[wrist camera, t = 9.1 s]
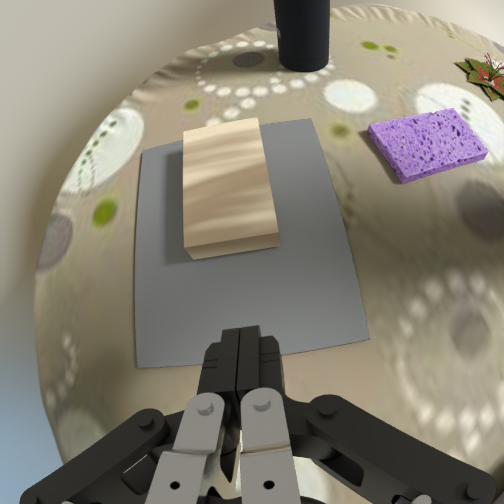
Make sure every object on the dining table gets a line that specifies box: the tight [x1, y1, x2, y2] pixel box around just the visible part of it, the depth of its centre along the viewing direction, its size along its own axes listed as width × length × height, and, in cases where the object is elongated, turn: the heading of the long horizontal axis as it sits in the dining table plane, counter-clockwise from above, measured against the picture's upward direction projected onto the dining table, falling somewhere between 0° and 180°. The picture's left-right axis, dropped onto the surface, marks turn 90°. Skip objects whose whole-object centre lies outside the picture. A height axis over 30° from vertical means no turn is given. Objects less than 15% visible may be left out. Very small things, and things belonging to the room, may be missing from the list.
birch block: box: [183, 117, 280, 260], centre depth 27 cm, size 3×7×12 cm
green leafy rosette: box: [455, 53, 504, 101], centre depth 30 cm, size 12×12×5 cm
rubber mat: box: [135, 118, 370, 368], centre depth 27 cm, size 22×18×1 cm
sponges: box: [368, 108, 489, 184], centre depth 28 cm, size 7×13×2 cm, turn 108°
